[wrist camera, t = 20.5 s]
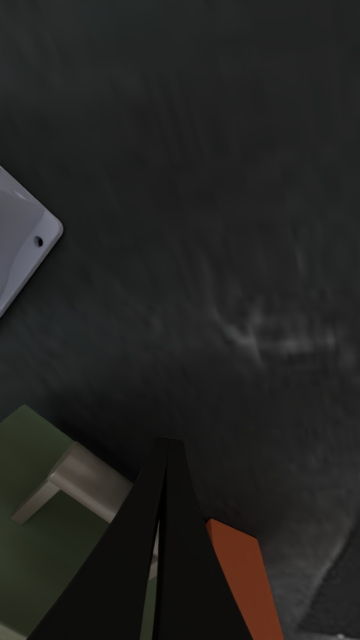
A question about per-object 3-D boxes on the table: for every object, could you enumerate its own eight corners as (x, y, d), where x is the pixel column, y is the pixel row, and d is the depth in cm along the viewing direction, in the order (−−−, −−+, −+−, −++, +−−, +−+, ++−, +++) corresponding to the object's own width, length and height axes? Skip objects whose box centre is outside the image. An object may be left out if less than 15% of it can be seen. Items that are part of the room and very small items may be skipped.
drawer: (67, 353, 11) (-84, 454, 5) (229, 487, 13) (269, 683, 7) (-69, 508, 14) (-262, 686, 8) (77, 597, 16) (8, 798, 10)
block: (210, 517, 15) (226, 677, 9) (257, 538, 15) (302, 706, 9) (181, 552, 16) (179, 717, 10) (226, 571, 16) (249, 742, 10)
